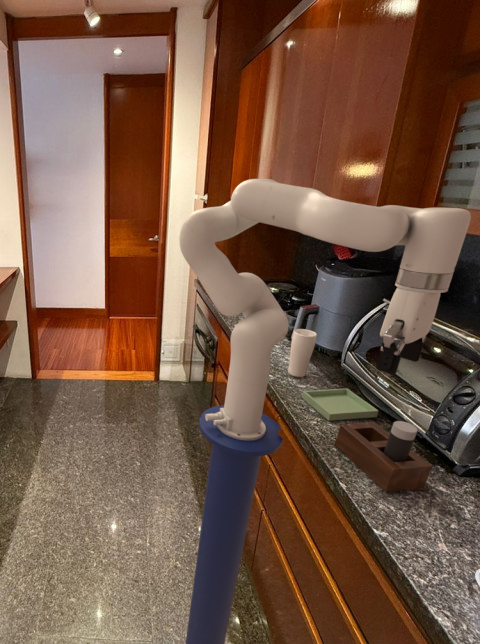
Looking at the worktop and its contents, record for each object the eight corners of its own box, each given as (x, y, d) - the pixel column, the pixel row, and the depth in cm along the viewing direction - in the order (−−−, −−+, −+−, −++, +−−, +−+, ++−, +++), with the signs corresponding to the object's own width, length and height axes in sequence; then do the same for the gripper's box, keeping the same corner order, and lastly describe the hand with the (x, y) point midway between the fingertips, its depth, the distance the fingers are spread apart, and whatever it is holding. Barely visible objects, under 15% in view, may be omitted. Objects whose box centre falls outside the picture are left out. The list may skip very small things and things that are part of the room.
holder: (385, 492, 81) (393, 469, 78) (334, 444, 95) (340, 424, 93) (423, 488, 81) (432, 466, 79) (367, 442, 96) (374, 421, 94)
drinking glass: (311, 378, 126) (321, 336, 120) (290, 379, 126) (300, 336, 120) (301, 369, 132) (310, 328, 126) (281, 369, 132) (289, 328, 126)
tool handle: (386, 483, 83) (404, 433, 78) (372, 470, 87) (388, 421, 82) (403, 481, 83) (422, 431, 78) (388, 468, 87) (406, 420, 82)
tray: (328, 420, 104) (330, 414, 103) (301, 397, 115) (302, 391, 115) (376, 417, 106) (378, 410, 105) (345, 394, 117) (346, 388, 116)
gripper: (418, 270, 77) (395, 348, 83) (376, 282, 68) (354, 369, 75) (467, 277, 71) (438, 361, 77) (428, 291, 62) (399, 385, 69)
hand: (397, 365), depth 76 cm, fingers open, 9 cm apart
